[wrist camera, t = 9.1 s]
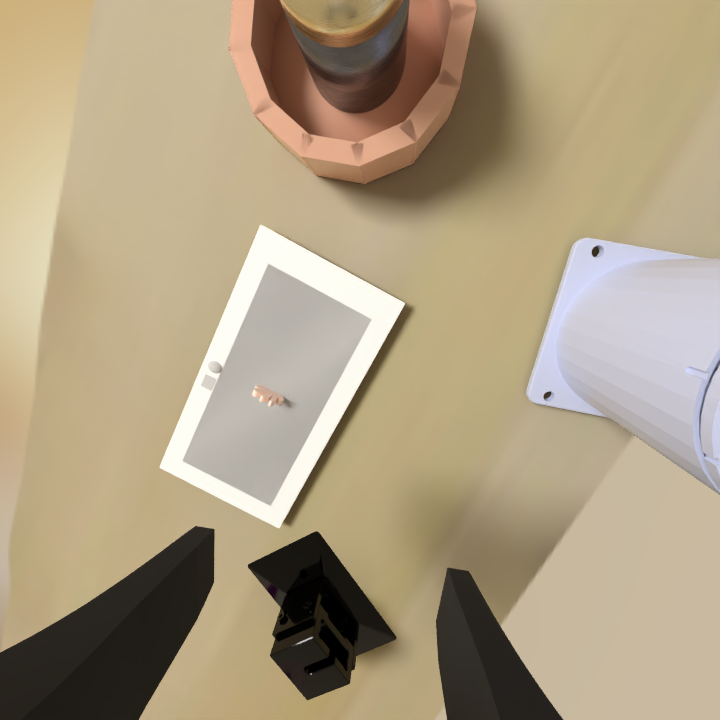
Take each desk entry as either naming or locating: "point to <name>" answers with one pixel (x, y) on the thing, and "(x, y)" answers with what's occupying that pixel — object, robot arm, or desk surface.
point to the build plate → (318, 615)
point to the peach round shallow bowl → (338, 128)
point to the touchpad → (277, 376)
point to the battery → (352, 48)
